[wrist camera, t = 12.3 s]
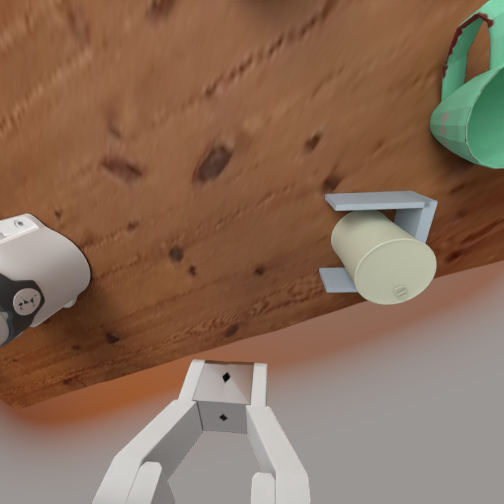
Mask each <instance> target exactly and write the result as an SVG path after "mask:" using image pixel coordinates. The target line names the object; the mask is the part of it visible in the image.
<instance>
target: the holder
mask: <svg viewBox="0 0 504 504" xmlns="http://www.w3.org/2000/svg"><path fill="white" fill-rule="evenodd" d="M325 199H326V201H327V202H328V203H329V204H330V205H331V206H332V207H333V208H334V210H335V211H343V210H372V209H397V210H396V214H395V219H394V224H396V225H397V226H398V227H400V228H401V229H403V230H404V231H406V232H407V233H409V234H410V235H412V236H413V237H414V238H416V239H417V240H419V241H421V242H423V243H426V239H427V236H428V233H429V229H430V226H431V222H432V219H433V216H434V212H435V209H436V206H437V202H438V201H435V200H433V199H431V198H428V197H426V196H423V195H421V194H418V193H416V192H413V191H393V192H367V193H341V194H326V195H325ZM319 273H320V276H321V278H322V281H323V284H324V286H325V289H326V292H358V291H357V289H356V286H355V284H354V282H353V280H352V279H351V277H350V275H349V273H348V271H347V270H346V268H319Z"/></svg>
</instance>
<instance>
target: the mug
mask: <svg viewBox="0 0 504 504" xmlns="http://www.w3.org/2000/svg"><path fill="white" fill-rule="evenodd" d="M483 20H484V21H486V22H487V26H488V32H489V38H490V58H489V70H488V71H486V72H484V73H482V74H480V75H478V76H476V77H474V78H472V79H471V80H470V81H468V82H467V83H465V84H464V81H465V72H466V63H467V54H468V51H469V49H470V47H471V45H472V43H473V41H474V39H475V37H476V35H477V32H478V30H479V28H480V26H481V24H482V22H483ZM430 130H431V132H432V134H433V136H434V137H435V138H436V139H437V140H438V141H439V142H440V143H441V144H442V145H443V146H445V147H446V148H447V149H448V150H450V151H451V152H453V153H455V154H456V155H458V156H460V157H462V158H464V159H466V160H468V161H470V162H472V163H475V164H478V165H481V166H484V167H488V168H492V169H503V168H504V0H489V1H488V2H487V3H486V4H484V5H483V6H482V7H481V8H480V9H478V10H477V11H476V12H475V13H473V14H472V15H471V16H470V17H468V18H467V19H466V20H465V21H464V22H462V23H461V24H460V25H459V26H458V28H457V30H456V33H455V35H454V38H453V41H452V43H451V46H450V49H449V52H448V54H447V57H446V60H445V63H444V65H443V79H442V96H441V103H440V104H439V105H438V106H437V107H436V109H435V110H434V112H433V114H432V116H431V119H430Z"/></svg>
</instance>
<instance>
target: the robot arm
mask: <svg viewBox="0 0 504 504" xmlns="http://www.w3.org/2000/svg"><path fill="white" fill-rule="evenodd" d="M89 282H90V269H89V265H88V263H87V260H86V259H85V257H84V255H83V254H82V252H81V251H80V250H79V249H78V248H77V247H76V246H75V245H74V244H73V243H72V242H71V241H70V240H68V239H67V238H66V237H64V236H62V235H61V234H59V233H57V232H55V231H53V230H51V229H49V228H47V227H46V226H45V225H44V224H43V223H41V222H40V221H39V220H38V219H37V218H35V217H34V216H33V215H31V214H23V215H19V216H15V217H11V218H8V219H4V220H0V347H2V346H4V345H6V344H8V343H9V342H10V341H12V340H14V339H15V338H17V337H18V336H19V335H21V334H22V333H23V331H24V330H26V329H27V328H28V327H35V326H37V325H39V324H40V323H42V322H43V321H44V320H46V319H47V318H49V317H50V316H51V315H53V314H54V313H56V312H57V311H58V310H60V309H61V308H63V307H65V308H69V307H71V306H72V305H74V304H75V302H76V300H77V296H78V295H79V294H80V293H81V292H82V291H84V290H85V289H86V288H87V286H88V284H89ZM266 404H267V364H266V363H265V364H264V363H252V362H224V361H212V360H199V359H198V360H197V359H193V361H192V362H191V364H190V367H189V370H188V373H187V375H186V378H185V381H184V384H183V387H182V389H181V392H180V395H179V398H178V400H173V401H172V402H171V403H170V404H169V405H168V406H167V407H166V408H165V409H164V410H163V411H162V412H161V413H160V414H158V415H157V416H156V417H155V418H154V419H153V420H152V421H151V422H150V423H149V424H148V425H147V426H146V427H145V428H144V429H143V430H142V431H141V432H140V433H139V434H138V435H137V436H136V437H135V438H133V439H132V440H131V442H129V443H128V444H127V445H126V446H125V447H124V448H123V449H122V450H121V451H120V452H119V453H118V454H117V455H116V456H115V457H114V459H113V461H112V463H111V465H110V467H109V469H108V471H107V473H106V475H105V477H104V479H103V482H102V483H101V485H100V488H99V490H98V491H97V494H96V496H95V498H94V500H93V502H92V504H175V500H174V497H173V494H172V492H171V489H170V487H169V484H168V482H167V480H168V479H169V478H170V476H171V475H172V474H173V472H174V471H175V469H176V468H177V467H178V465H179V464H180V463H181V461H182V460H183V459H184V457H185V456H186V454H187V453H188V452H189V450H190V449H191V448H192V446H193V445H194V444H195V442H196V441H197V439H198V438H199V437H200V435H201V434H202V433H203V431H223V432H232V433H241V434H248V438H249V441H250V443H251V446H252V448H253V451H254V453H255V456H256V459H257V462H258V464H259V467H260V469H261V472H262V473H258V472H257V473H256V474H255V475H254V476H253V478H252V491H251V504H311V502H310V492H309V483H308V475H307V474H306V472H305V470H304V468H303V466H302V464H301V462H300V461H299V459H298V457H297V455H296V453H295V452H294V450H293V448H292V446H291V444H290V442H289V440H288V439H287V437H286V435H285V433H284V431H283V429H282V428H281V426H280V424H279V422H278V420H277V418H276V417H275V415H274V413H273V411H272V409H271V407H268V406H267V405H266ZM202 430H203V431H202Z"/></svg>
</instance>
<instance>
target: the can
mask: <svg viewBox="0 0 504 504" xmlns="http://www.w3.org/2000/svg"><path fill="white" fill-rule="evenodd" d="M331 243H332V247H333V250H334V251H335V253H336V254H337V255H338V256H339V258H340V259H341V261H342V263H343V264H344V266H345V268H346V270H347V271H348V273H349V275H350V277H351V279H352V280H353V282H354V284H355V286H356V289H357V291H358V292H359V293H360V295H361V296H362V297H364V298H365V299H366V300H368V301H370V302H373V303H376V304H382V305H391V304H398V303H402V302H405V301H407V300H410V299H412V298H413V297H415V296H417V295H418V294H420V293H421V292H422V291H423V290H424V289H425V288H426V287H427V286H428V285H429V284H430V282H431V281H432V279H433V277H434V275H435V272H436V257H435V255H434V253H433V251H432V250H431V249H430V247H429V246H427V245H426V244H425V243H423V242H421V241H419V240H417V239H416V238H414V237H413V236H412V235H410V234H409V233H407V232H406V231H404V230H403V229H401V228H400V227H398V226H397V225H396V224H394V223H393V222H392V221H390V220H389V219H388V218H387V217H386V216H385V215H384V214H382V213H381V212H379V211H377V210H373V209H372V210H355V211H353V212H350V213H348V214H347V215H345V216H344V217H343V218H342V219H340V221H339V222H338V223H337V224H336V226H335V228H334V230H333V232H332V237H331Z"/></svg>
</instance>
